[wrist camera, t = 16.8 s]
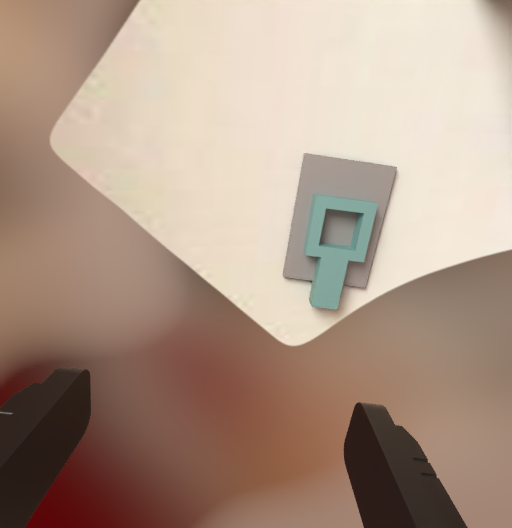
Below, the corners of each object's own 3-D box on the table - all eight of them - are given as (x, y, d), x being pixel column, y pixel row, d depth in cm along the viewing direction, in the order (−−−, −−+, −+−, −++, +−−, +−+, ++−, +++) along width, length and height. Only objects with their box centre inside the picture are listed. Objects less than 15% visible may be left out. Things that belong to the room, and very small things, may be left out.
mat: (304, 153, 34) (304, 153, 33) (394, 166, 34) (396, 166, 34) (282, 275, 38) (283, 276, 37) (363, 285, 38) (365, 287, 38)
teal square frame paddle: (313, 193, 35) (316, 195, 33) (371, 201, 35) (378, 203, 33) (294, 298, 38) (296, 304, 36) (347, 304, 38) (352, 311, 37)
